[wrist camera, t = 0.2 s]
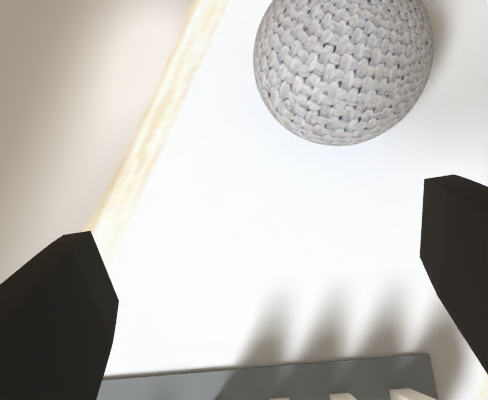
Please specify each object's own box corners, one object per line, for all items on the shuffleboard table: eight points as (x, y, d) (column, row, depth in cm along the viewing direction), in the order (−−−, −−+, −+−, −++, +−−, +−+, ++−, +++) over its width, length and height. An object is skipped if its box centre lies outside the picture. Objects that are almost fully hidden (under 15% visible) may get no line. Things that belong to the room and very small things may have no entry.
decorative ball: (429, 80, 45) (502, -37, 31) (357, 198, 42) (400, 128, 28) (304, 19, 48) (317, -113, 34) (228, 124, 45) (207, 27, 31)
